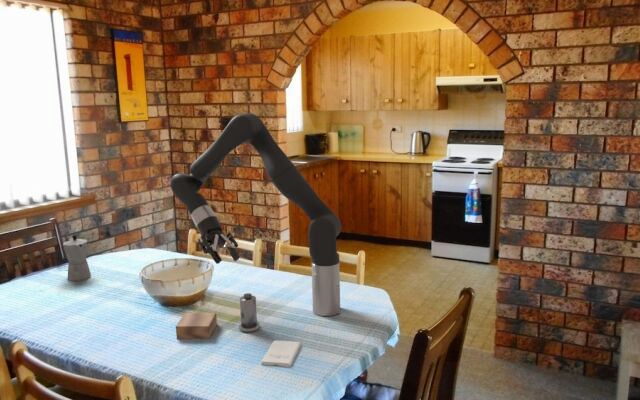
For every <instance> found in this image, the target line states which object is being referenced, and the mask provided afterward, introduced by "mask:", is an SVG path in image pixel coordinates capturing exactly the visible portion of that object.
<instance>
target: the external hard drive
mask: <svg viewBox="0 0 640 400" xmlns="http://www.w3.org/2000/svg"><path fill="white" fill-rule="evenodd" d="M301 346H302V345H301V342H299V341H289V340H277V339H276V340H275V339H274V340H273V342H272V343H271V345H270V347H269V349H268V350H267V352H266V353H265V355H264V356H263V359H261V362H260V363H261V365H262V366H263V365H264V366H278V367H286V368H287V367H288V368H291V366H292V364H293V362H294V360H295V358H296V356H297V354H298V352H299V350H300V349H301Z"/></svg>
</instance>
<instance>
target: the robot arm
mask: <svg viewBox="0 0 640 400" xmlns="http://www.w3.org/2000/svg"><path fill="white" fill-rule="evenodd" d="M243 143H249V144H250V146H252V147H253V149H254V150H255V151H256V152H257V153H258V155H259V156H260V158H261V160H262V163H263V166H264V169H265V172H266V175H267V176H268V179H269V180H270V182H272V184H273V185H274V186H275V188H276V189H277V190H278V191H279V193H280V194H282V196H283V197H285V198H286V199H287V200H289V201H290V202H292V203H293V204H294V205H296V206H297V207H298V208H300V209H301V210H302V211H303V212H304V214H305V215H306V216H307V218H308V219H309V220H310V224H309V226H308V234H307V236H308V250H309V255H310V259H311V292H312V312H313V313H314V315H317V316H322V317H330V316H335V315H340V314H341V285H340V284H341V282H340V279H341V278H340V277H341V276H340V275H341V274H340V272H341V271H340V254H339V252H338V250H337V237H338V236H339V235H340V233H341V231H342V224H341V220H340V218H339V217H338V216H337V215H336V214H335V212H333V211H332V209H331V208H330V207H329V206H328V205H326V203H325V202H324V201H323V200H322V199H321V198H320V197H319V195H318V194H317V193H316V192H315V190H314V188H312V186H311V185H310V183H309V182H308V181H307V180H306V178H305V177H304V175H303V174H302V173H301V171H299V169H298V168H297V167H296V165H295V164H294V163H293V162H292V161H291V159H290V158H289V157H288V156H287V155H286V153H285V152H284V150H282V148H281V147H280V146H279V144H277V142H276V141H275V139H274V137H272V135H271V133H270V132H269V130H268V128H267V127H266V126H265V124H264V122H263V121H262V119H261V118H260V117H259V116H258V115H256V114H255V113H251V112H249V113H247V112H246V113H242V114H241V113H240V114H237V115H235V116H234V117H233V118H231V120H229V122H228V124H227V125H226V126H225V128H224V129H223V131H221V134H219V136H218V137H217V138H216V139H215V141H214V142H213V143H212V144H211V145H210V146H209V147H208V148H207V149H206V150H205V151H204V152H203V153H201V155H200V156H198V158H196V160H194V161H193V162H192V164H190V167H189V171H190V174H187V173H185V174H184V173H176V174H174V175H173V176H172V177H171V180H170V189H171V191H172V192H173V194H174V195H175V196H176V198H177V199H178V200H179V201H180V202H181V203H182V204H183V205H184V206H185V207H186V209H187V211H188V214H189V215H190V216H191V218H192V221H193V224H194V225H195V228H196V229H197V231H198V232H199V234H200V237H198V239H197V241H198V244H199V245H200V248H201V249H202V251H203V253H204V254H205V255H207V254H208V255H210V256H211V257H212V260H213V261H214V263H215V264H217V265H218V264H220V263H221V262H222V260H223V259H222V257H221V256H220V254H219V251H217V248H222V249H223V250H226V251H228V252H229V255H230V256H231V258H232V260H233V261H234V262H237V261H239V259H240V255H239V253H238V251H237V248H238V247H239V243H238V242H237V241H236V239H235V237H234V236H233V235H232V233H231V232H230V231H229V232H228V233H226V234H225V233H224V232H223V225H222V224H221V222H220V221H219V218H218V217H217V216H216V213H215V211H214V210H213V209H212V208H211V206H210V204H209V203H208V200H207V199H206V198H205V196H204V195H203V194H201V193H199V191H200V190H201V188H202V187H203V186H204V184H205V182H206V181H207V179H208V178H210V176H211V175H212V174H213V173H215V172H216V171H217V170H218V169H219V168H220V166H221V165H222V163H224V161H225V159H226V157H227V156H228V155H229V154H230V153H231V152H232V151H234V150H235V149H236V148H238V147H239V146H240V145H242V144H243Z"/></svg>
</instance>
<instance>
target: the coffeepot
mask: <svg viewBox="0 0 640 400" xmlns="http://www.w3.org/2000/svg"><path fill="white" fill-rule="evenodd" d="M62 246H63V249H64V253H65V257H66V259H67V261H68V264H67V281H70V282H80V281H84V280H88V279H89V278H91V275H92V273H91V271H90V267H89V263H88V261H87V256H88V255H87V253H88V252H87V251H88V250H87V249H88V239H83V238H77V235H76V234H72V237H67V238H66V241H64V242H63V244H62Z"/></svg>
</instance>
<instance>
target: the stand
mask: <svg viewBox="0 0 640 400" xmlns="http://www.w3.org/2000/svg"><path fill="white" fill-rule="evenodd" d="M217 320H218V319H217V312H184V313H183V315H182V317H181V318H180V319H179V321H178V322H177V324H176V325H175V333H176V334H175V335H176V339H177V340H178V339H181V340H183V339H191V340H192V339H194V340H195V339H197V340H198V339H200V340H201V339H202V340H203V339H210V338H211V336H212V334H213V333H214V330H215V329H216V327H217V325H218V321H217Z"/></svg>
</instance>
